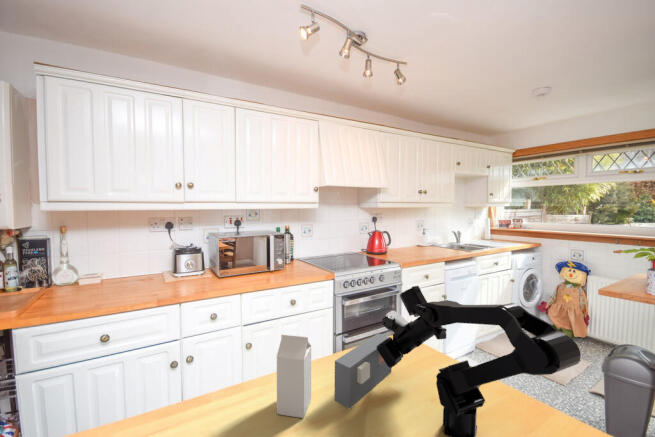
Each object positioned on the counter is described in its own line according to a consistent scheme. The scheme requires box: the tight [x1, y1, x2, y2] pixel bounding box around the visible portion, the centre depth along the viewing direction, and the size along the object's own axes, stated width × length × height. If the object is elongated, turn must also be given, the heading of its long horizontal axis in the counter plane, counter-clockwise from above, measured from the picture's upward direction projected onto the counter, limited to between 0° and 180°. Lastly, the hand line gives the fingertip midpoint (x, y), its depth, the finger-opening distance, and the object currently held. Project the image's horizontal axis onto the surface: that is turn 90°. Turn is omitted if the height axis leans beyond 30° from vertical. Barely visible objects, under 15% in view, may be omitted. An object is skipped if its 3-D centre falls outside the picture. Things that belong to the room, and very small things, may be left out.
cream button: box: [357, 361, 370, 384], centre depth 78 cm, size 2×4×4 cm, turn 139°
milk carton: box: [276, 334, 312, 419], centre depth 75 cm, size 7×7×19 cm
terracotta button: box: [379, 353, 384, 364], centre depth 88 cm, size 2×4×4 cm, turn 139°
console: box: [334, 332, 393, 410], centre depth 85 cm, size 5×22×11 cm, turn 139°
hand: (383, 356), depth 87 cm, fingers closed, pressing on terracotta button
